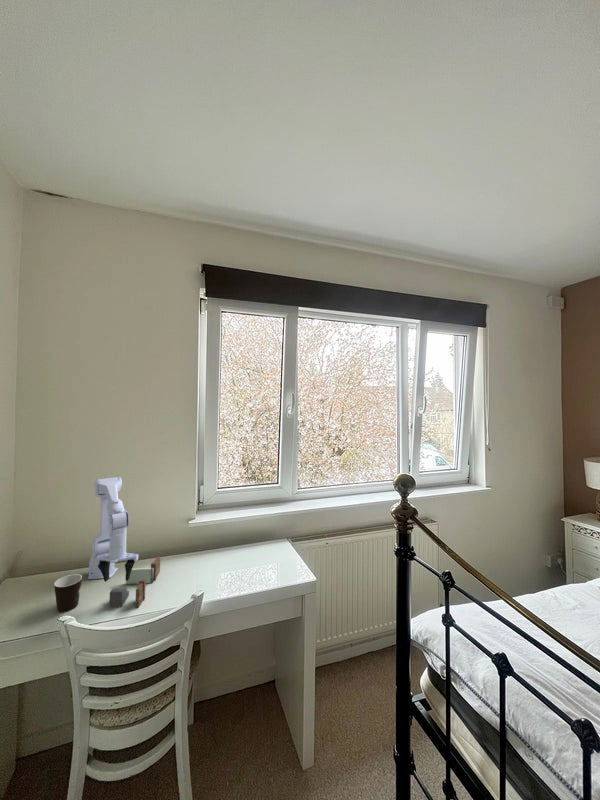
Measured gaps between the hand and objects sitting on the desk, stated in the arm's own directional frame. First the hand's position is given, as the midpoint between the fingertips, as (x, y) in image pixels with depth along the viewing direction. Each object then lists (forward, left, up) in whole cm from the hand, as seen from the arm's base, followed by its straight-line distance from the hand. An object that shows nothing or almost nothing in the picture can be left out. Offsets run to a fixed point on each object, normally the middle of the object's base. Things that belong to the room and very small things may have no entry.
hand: (117, 579), depth 123 cm
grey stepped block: (0, +2, -10) cm, 10 cm away
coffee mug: (-18, +2, -10) cm, 20 cm away
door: (+3, +14, -9) cm, 17 cm away
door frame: (+8, +10, -9) cm, 16 cm away
